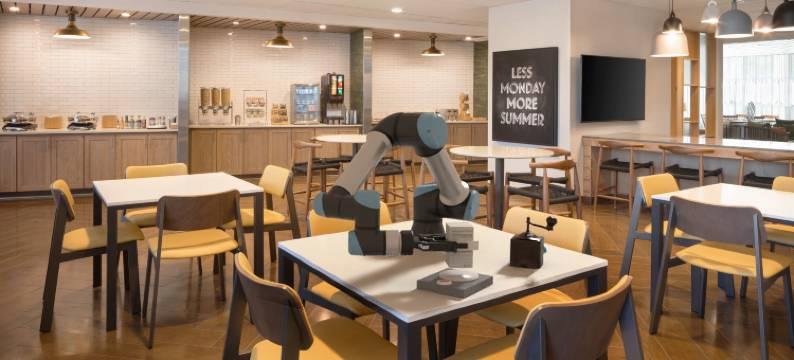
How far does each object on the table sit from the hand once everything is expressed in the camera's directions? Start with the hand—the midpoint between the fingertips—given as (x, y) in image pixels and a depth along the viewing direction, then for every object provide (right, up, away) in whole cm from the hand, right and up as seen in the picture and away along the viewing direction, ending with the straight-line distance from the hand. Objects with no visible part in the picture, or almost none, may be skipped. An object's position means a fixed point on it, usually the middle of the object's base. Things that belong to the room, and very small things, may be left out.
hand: (475, 242), depth 189 cm
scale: (-6, -13, 0) cm, 14 cm away
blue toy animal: (+29, -8, +47) cm, 56 cm away
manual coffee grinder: (+23, -11, +25) cm, 36 cm away
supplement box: (-5, -7, 0) cm, 9 cm away
